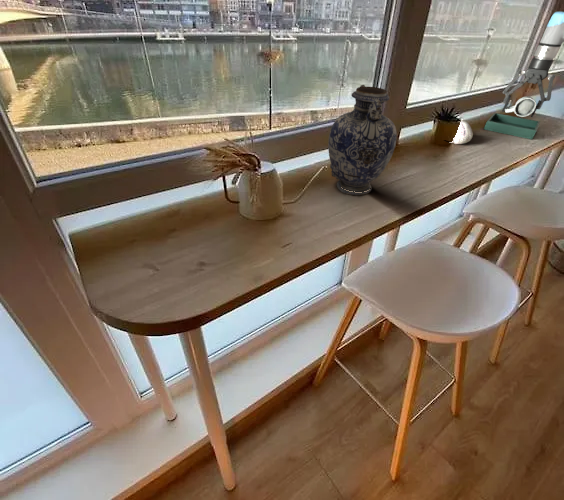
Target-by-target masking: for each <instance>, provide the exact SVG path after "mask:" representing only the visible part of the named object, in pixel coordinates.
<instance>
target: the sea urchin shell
mask: <svg viewBox="0 0 564 500" xmlns="http://www.w3.org/2000/svg"><path fill="white" fill-rule="evenodd" d="M460 120H461V122H460V125H459V127H458V130H457V133H456V135H455V137H454V138H453V141H452V142H450V143H451V144H455V145H462V144H467V143H469V142H470V141H471V140H472V138H473V135H474V132H473V129H472V126H471V125H470V124H469V122H467V121H466V120H462V119H460Z"/></svg>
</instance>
